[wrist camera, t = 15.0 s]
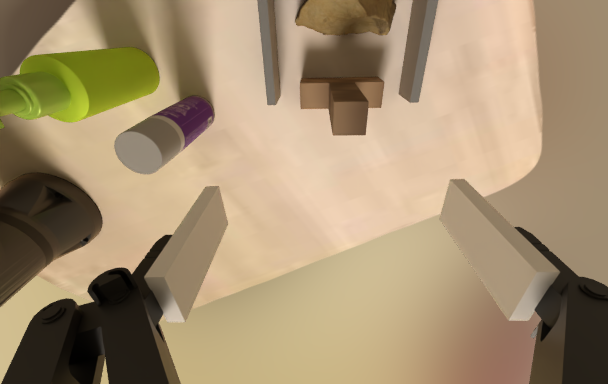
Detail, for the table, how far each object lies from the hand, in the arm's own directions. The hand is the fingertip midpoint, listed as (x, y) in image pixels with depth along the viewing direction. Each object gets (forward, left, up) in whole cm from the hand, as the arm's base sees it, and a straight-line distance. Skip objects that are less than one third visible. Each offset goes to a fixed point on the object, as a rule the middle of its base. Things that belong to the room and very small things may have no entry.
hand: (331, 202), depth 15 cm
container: (-18, -1, -25) cm, 31 cm away
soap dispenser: (-25, +5, -25) cm, 36 cm away
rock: (+3, +10, -25) cm, 27 cm away
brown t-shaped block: (+2, +2, -25) cm, 25 cm away
